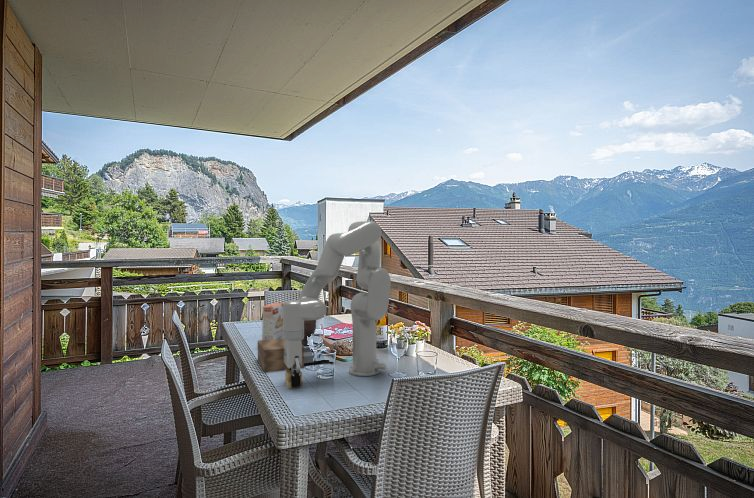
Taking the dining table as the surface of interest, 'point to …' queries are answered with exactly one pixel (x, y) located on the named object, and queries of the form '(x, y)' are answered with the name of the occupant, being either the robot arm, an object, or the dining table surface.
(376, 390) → the dining table surface
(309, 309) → the robot arm
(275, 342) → the brown box
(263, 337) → the cracker box
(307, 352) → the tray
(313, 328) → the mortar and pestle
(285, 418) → the dining table surface
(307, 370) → the dining table surface
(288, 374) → the block
